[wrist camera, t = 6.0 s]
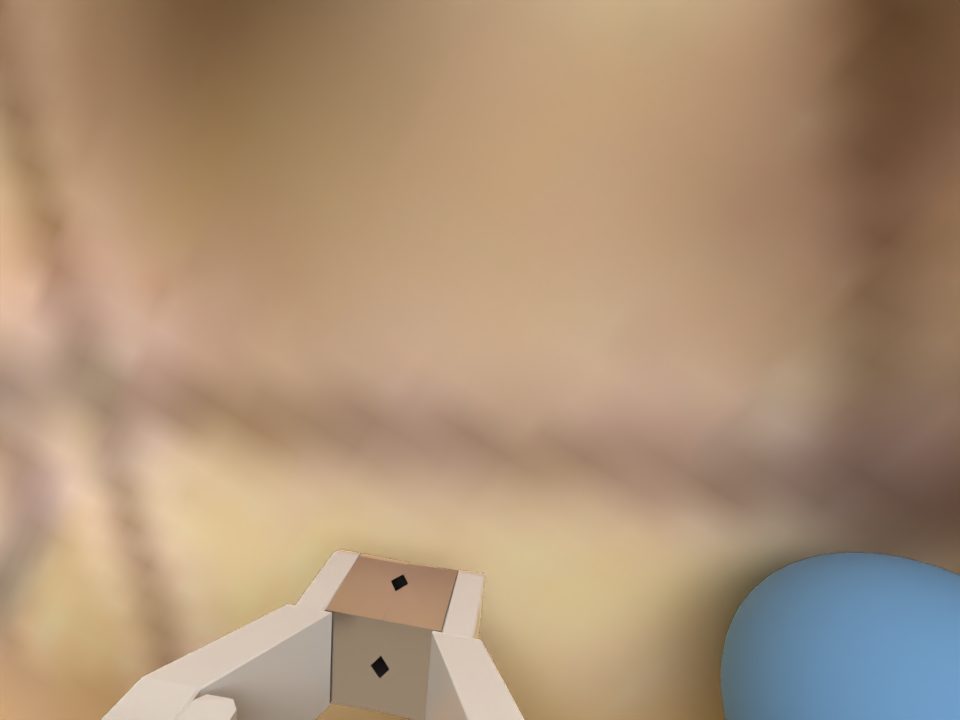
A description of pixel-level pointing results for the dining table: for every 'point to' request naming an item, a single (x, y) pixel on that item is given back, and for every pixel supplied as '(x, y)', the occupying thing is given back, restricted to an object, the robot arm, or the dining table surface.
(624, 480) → the dining table surface
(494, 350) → the dining table surface
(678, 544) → the dining table surface
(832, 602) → the ball
